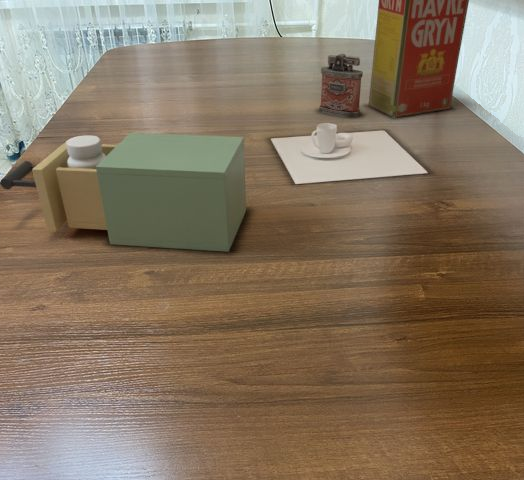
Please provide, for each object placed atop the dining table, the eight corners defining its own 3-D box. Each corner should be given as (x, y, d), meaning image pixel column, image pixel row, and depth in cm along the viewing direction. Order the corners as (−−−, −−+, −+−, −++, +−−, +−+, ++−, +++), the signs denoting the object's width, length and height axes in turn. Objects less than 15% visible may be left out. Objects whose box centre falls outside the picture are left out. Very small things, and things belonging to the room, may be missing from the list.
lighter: (315, 111, 114) (318, 54, 108) (325, 107, 116) (327, 50, 110) (354, 118, 111) (358, 59, 104) (362, 114, 113) (367, 55, 107)
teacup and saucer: (347, 141, 101) (349, 116, 98) (361, 158, 94) (364, 131, 92) (295, 145, 100) (296, 120, 97) (306, 162, 93) (307, 135, 91)
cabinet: (109, 244, 73) (95, 166, 67) (140, 204, 82) (129, 132, 76) (228, 251, 71) (224, 172, 65) (246, 210, 80) (243, 137, 74)
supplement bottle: (87, 198, 79) (73, 132, 74) (121, 200, 78) (110, 134, 73) (70, 213, 75) (55, 146, 70) (106, 216, 75) (93, 148, 69)
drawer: (2, 228, 75) (-17, 166, 70) (39, 194, 83) (25, 137, 78) (154, 238, 72) (145, 174, 68) (177, 202, 80) (171, 143, 76)
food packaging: (393, 119, 110) (412, -45, 95) (366, 105, 117) (379, -50, 102) (453, 109, 114) (480, -50, 99) (423, 96, 121) (444, -54, 106)
